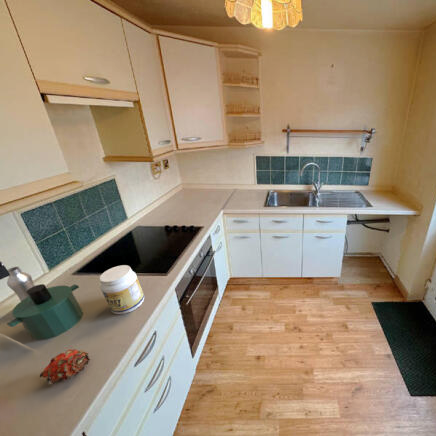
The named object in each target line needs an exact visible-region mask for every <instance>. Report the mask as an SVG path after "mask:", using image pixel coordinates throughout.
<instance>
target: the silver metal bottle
mask: <svg viewBox="0 0 436 436" xmlns="http://www.w3.org/2000/svg"><path fill="white" fill-rule="evenodd" d="M7 271H8V272H9V274H10V275H9V276H8V277H7V281H6V285H7V287H9V289H11V290H12V291H13V292H14V293H15V295H16V296H17V297H18V299H19V301H20V302H21V301H22V300H24V299H25V298H27V297H29V295H28V294H27V291H28V290H29V289H30V288H32V287H34V286H36V284H35V283H34V280H33V277H32V275H31V274H30V273H27V272H23V271H22V269H21V268H20V267H19V266H13V267H10V268H8V269H7Z"/></svg>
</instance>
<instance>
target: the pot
mask: <svg viewBox="0 0 436 436" xmlns="http://www.w3.org/2000/svg"><path fill="white" fill-rule="evenodd" d="M69 287H70V288H71V290H72V292H71V294H70V296H69V297H68V298H67V299H66V300H65V301H64V302H62V303H61V304H60V305H58V306H56V307H55V308H53V309H51V310H49V311H47V312H45V313H42V314H39V315H36V316H33V317H28V318H16V317H14V318H13V319H11V320H10V321H7V322H6V324H7V326H8V327H12V328H14V327H15V326H17V325H18V324H20V323H21V324H22V326H23V327H24V328H25V329H26V331H27V332H28V334H29V335H30V336H31V338H33V339H34V340H36V341H45V340H49V339H52V338H55V337H58V336H60V335H61V334H64V333H66V332H68V331H69V330H70V329H72V328H73V327H75V326H76V325H77V324H78V323H79V322H80V321H81V320H82V318H83V316H84V310H83V308H81V305H80V304H79V301H78V300H77V298H76V297H75V296H76V295H74V293H73V292H74V291H75V290H77V289H79V288H80V286H79V285H78V284H76V283H75V284H72V285H70V286H69Z"/></svg>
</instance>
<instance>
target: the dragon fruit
mask: <svg viewBox="0 0 436 436" xmlns="http://www.w3.org/2000/svg"><path fill="white" fill-rule="evenodd" d="M90 361H91V359H90V357H89V351H86V350H83V349H78V350H77V349H67V350H66V351H65V352H60V353H59V354H57V355H56V356H55V357H53V358H51V359H50V362H49V363H48V365H47V366H46V367H45V368H44V369H43V370H42V371H41V372H40V374H39V377H40V378H43V379H46V381H48V382H47V384H48V385H49V386H53V384H54V383H55V382H57V381H58V380H60V379H61V378H62V381H63V382H65V381H68V380H69V379H72V378H73V377H74V375H77V374H78V373H80V372H82V371H83V370H84V369H85V366H87V365H88V364H89V363H90Z"/></svg>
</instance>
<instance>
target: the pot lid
mask: <svg viewBox="0 0 436 436" xmlns="http://www.w3.org/2000/svg"><path fill="white" fill-rule="evenodd" d="M70 287H71V286H68V285H55V286H51V287H47V286H46V285H45V284H43V283H40V284H37V285H36V284H35V286H34V287H32V288H30V289H29V290H28V291H27V294H28V295H29V297H27V298H25V299H24V300H22V301H20V302H18V303H17V304H16V305H15V306H14V307H13V309H12V310H11V311H12V312H11V315H12V316H13V317H14V318H28V317H33V316H36V315H39V314H42V313H45V312H47V311H49V310H51V309H53V308H55V307H56V306H58V305H60V304H61V303H62V302H64V301H65V300H66V299H67V298H68V297H69V296H70V294H71V292H72V293H73V291H72V290H71V288H70Z"/></svg>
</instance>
